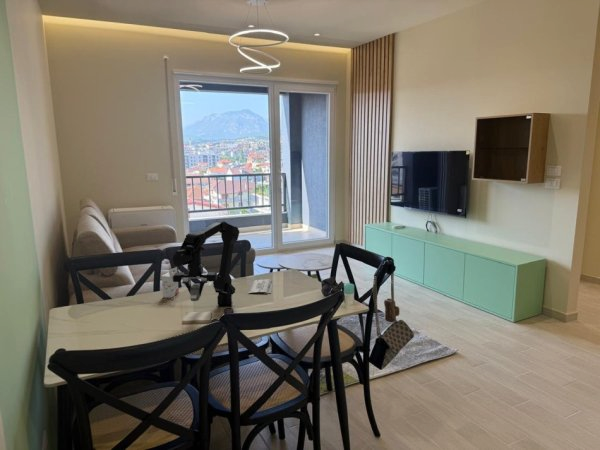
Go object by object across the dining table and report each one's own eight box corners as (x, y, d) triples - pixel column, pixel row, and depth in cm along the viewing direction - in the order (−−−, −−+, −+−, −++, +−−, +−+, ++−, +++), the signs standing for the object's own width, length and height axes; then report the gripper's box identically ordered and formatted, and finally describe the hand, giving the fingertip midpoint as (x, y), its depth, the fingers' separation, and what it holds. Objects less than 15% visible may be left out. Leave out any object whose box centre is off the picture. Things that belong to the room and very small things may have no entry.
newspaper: (271, 295, 223) (270, 290, 222) (248, 297, 223) (247, 292, 223) (274, 282, 245) (274, 278, 245) (254, 283, 246) (253, 279, 245)
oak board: (212, 314, 195) (212, 311, 194) (209, 322, 185) (209, 320, 185) (186, 314, 194) (186, 312, 193) (182, 323, 184) (182, 320, 184)
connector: (201, 293, 193) (201, 283, 192) (197, 302, 181) (197, 291, 180) (193, 294, 192) (193, 283, 191) (189, 302, 181) (188, 291, 180)
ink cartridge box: (170, 292, 225) (169, 265, 222) (178, 293, 224) (177, 266, 221) (162, 297, 216) (160, 270, 214) (171, 298, 215) (169, 270, 213)
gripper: (218, 257, 194) (219, 289, 196) (177, 257, 192) (178, 289, 195) (215, 263, 183) (216, 297, 185) (171, 263, 181) (173, 297, 184)
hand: (195, 295), depth 188 cm, fingers closed on connector, 4 cm apart
